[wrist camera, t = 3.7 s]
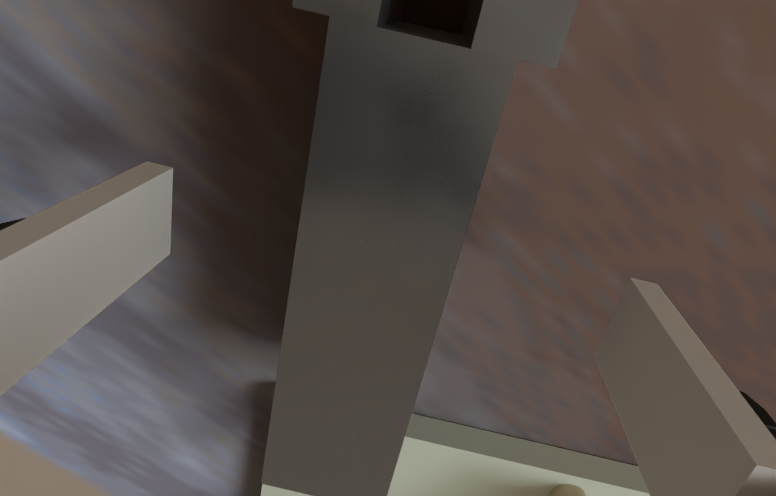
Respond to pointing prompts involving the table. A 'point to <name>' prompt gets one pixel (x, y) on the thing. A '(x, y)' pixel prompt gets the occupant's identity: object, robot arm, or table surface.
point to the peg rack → (496, 466)
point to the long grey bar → (386, 224)
